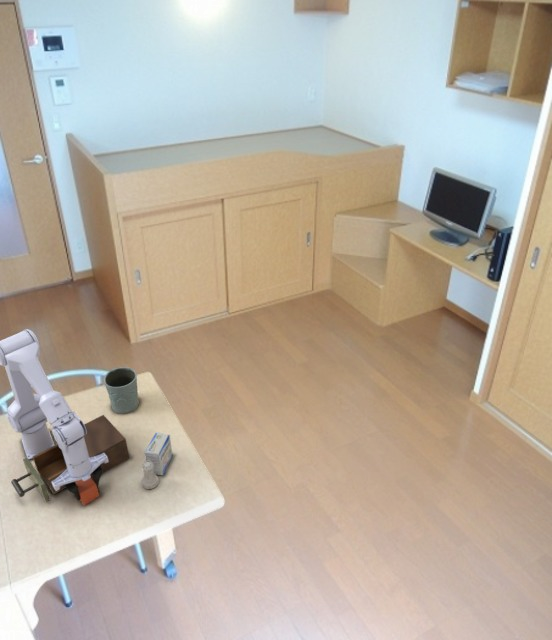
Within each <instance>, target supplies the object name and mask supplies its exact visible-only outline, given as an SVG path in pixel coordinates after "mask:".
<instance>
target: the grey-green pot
mask: <svg viewBox="0 0 552 640" xmlns="http://www.w3.org/2000/svg"><path fill="white" fill-rule="evenodd" d="M137 377H138V376H137V372H136V370H134V369H133V368H132V367H128V366H121V367H115V368H112V369H110V370H109V371H108V372H107V373H106V374H105V375H104V377H103V384H104V386H105V389H106V391H107V394H108V398H109V401H110V405H111V409H112V411H113V412H115V413H117V414H120V415H121V414H123V415H124V414H128V413H129V414H130V413H131V412H134V411H135V410H136V409H137V408H138V406H139V404H140V403H139V401H140V400H139V392H138V378H137Z"/></svg>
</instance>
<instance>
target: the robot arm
mask: <svg viewBox="0 0 552 640" xmlns="http://www.w3.org/2000/svg"><path fill="white" fill-rule="evenodd" d="M40 348H41V345H40V342H39V339H38V337H37V336H36V334H35V333H34V332H33V331H32V330H31V329H29V328H25V329H24V330H22V331H20V332H18V333H15V334H13V335H11V336H8V337H6V338H4V339H1V340H0V366H1V367H4V369H5V371H6V376H7V378H8V381H9V384H10V385H9V386H10V388H11V391H12V395H13V398H14V400H13V401H12V402H11V404H10V405H9V406H8V407H7V408H6V411H7V412H6V413H7V420H8V423H9V424H10V426H11V428H12V429H13V431H14V432H15V433H18V434H20V437H21V443H22V446H23V449H24V452H25V454H26V455H25V457H26V458H28V459H29V461H30V460H32V459H33V456H35V455H37V454H39V453H41V452H43V451H45V450H47V449H49V448H50V447H52V446H54V445H56V444H58V446H59V448H60V449H61V450H62V452H63V456H64V459H65V462H66V465H67V470H65V471H64V472H63V473H62V474H61V475H60V476H59V477H58V478H56V479H55V480H54V481H52V485H53V487H54V489H55V490H56V491H58V490H59V489H60V487H61V486H63V485H64V486H65V487H66V488H65V489H66V490H67V491H68V492H69V493H71V494H72V495H74V496H75V498H76V500H77V501H80V499H81V498H80V494H79V491H78V486H77V485H76V483H75V481H79V480H83V481H86V480H88V479H89V478H90V477H91V478H92V480H93V481H94V482H95V483H96V485H97V489H98V490H99V488H100V487H99V486H100V480H101V477H102V476H103V474H104V473H103V469H102V468H101V467H100V464H102V463H107V462H109V461H108V457H107V456H106V454H105V453H103V454H101V455H98V456H95V457H91V458H89V454H88V451H87V447H86V443H85V439H84V434H87V430H86V427H85V425H84V424H85V423H84V422H83V420H82V418H81V417H80V416H79V415H78V414H77V413H76V412H75V411H72V409H71V407H70V405H69V404H68V402H67V401H66V399H65V397H64V396H63V394H62V392H60V391H57V390H54V388H53V386H52V384H51V382H50V380H49V378H48V376H47V375H46V372H45V370H44V368H43V365H42V364H41V362H40V360H39V359H40V356H41V350H40ZM33 390H34V391H35V393H34V391H33ZM47 423H49V425H50V427H51V428H52V430H51V432H50V429H49V428H48V424H47ZM51 433H52V434H51ZM52 435H53V437H52ZM53 438H54V439H53ZM54 440H55V441H56V444H55V442H54Z"/></svg>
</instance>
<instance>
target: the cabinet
mask: <svg viewBox="0 0 552 640" xmlns="http://www.w3.org/2000/svg"><path fill="white" fill-rule="evenodd" d="M84 425H85V427H86V430H87V434H84V439H85V443H86V447H87V451H88V454H89V458H91V457H95V456H98V455H101V454H103V453H105V454H106V456H107V457H108V461H109V462H107V463H102V464H100V467H101V468H102V469H103V474H105V473H106V472H108V471H110V470H111V469H113V468H115V467H116V466H119V465H120V464H122V463H123V462H125V461H127V460H129V459H130V453H129V448H128V443H127V439H126V437H125V436H124V435H123V434H122V433H121V432H120V431H119V430H118V428H117V427H116V426H114V424H112V422H111V421H110V420H109V419H108V418H107V417H106V416H105V414H102V415H100V416H98V417H96V418H94V419H92V420H89V421H88V422H86V423H84Z"/></svg>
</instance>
